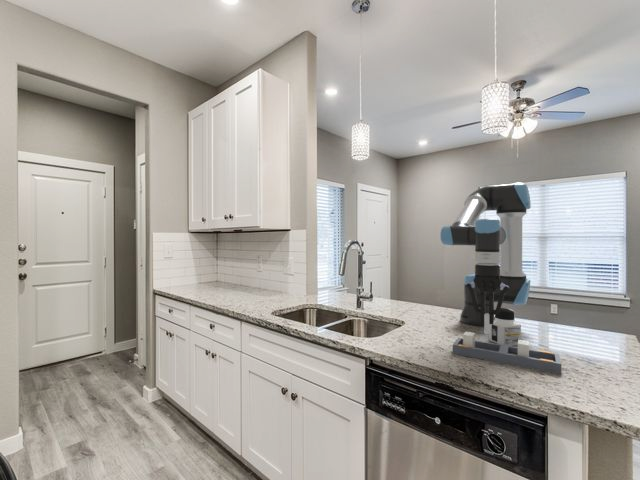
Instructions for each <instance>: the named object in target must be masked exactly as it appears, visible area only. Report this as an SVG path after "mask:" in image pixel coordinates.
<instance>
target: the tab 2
mask: <svg viewBox="0 0 640 480" xmlns="http://www.w3.org/2000/svg"><path fill="white" fill-rule="evenodd" d="M517 347H518V355H520V356H525V357H529V349H530V341H529V340H525V339H523V340H522V339H521V340H518V345H517Z"/></svg>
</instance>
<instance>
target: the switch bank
mask: <svg viewBox="0 0 640 480" xmlns="http://www.w3.org/2000/svg"><path fill="white" fill-rule="evenodd" d="M452 354H453V355H457V356H458V355H459V356H463V357H469V358H474V359H480V360H485V361H490V362H494V363H500V364H506V365H510V366H516V367H521V368H522V367H523V368H527V369H532V370H538V371H541V372H548V373H551V374H552V373H553V374H558V375H562V361H561V356H560V354H559V353H554V352H551V351H546V350H536V349H530V348H529V357H525V356H520V355H518V346H507V345H501V344H497V343H494V342H487V341H482V340H476V339H475V347H469V346H466V345H463V337H457V338H456V340H455V341H454V342H453V343H452Z"/></svg>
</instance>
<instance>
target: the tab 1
mask: <svg viewBox="0 0 640 480" xmlns="http://www.w3.org/2000/svg"><path fill="white" fill-rule="evenodd" d="M475 337H476V332H470V331H465V332H464V333H463V334H462V338H463V345H466V346H469V347H475V340H476V338H475Z"/></svg>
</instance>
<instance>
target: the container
mask: <svg viewBox="0 0 640 480" xmlns="http://www.w3.org/2000/svg"><path fill="white" fill-rule="evenodd" d="M494 310H496V308H494ZM515 313H516V312H515V310H513V309H511V308H507V307H501V309H500V312H499V314H494V317H495V321H494V323H493V324H490V334H488V341H490V342H491V343H495V344H501V345H507V346H513V347H516V346H518V340H522V325H521V324H520V323H517V322H516V320H515V318H516V316H515Z"/></svg>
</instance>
